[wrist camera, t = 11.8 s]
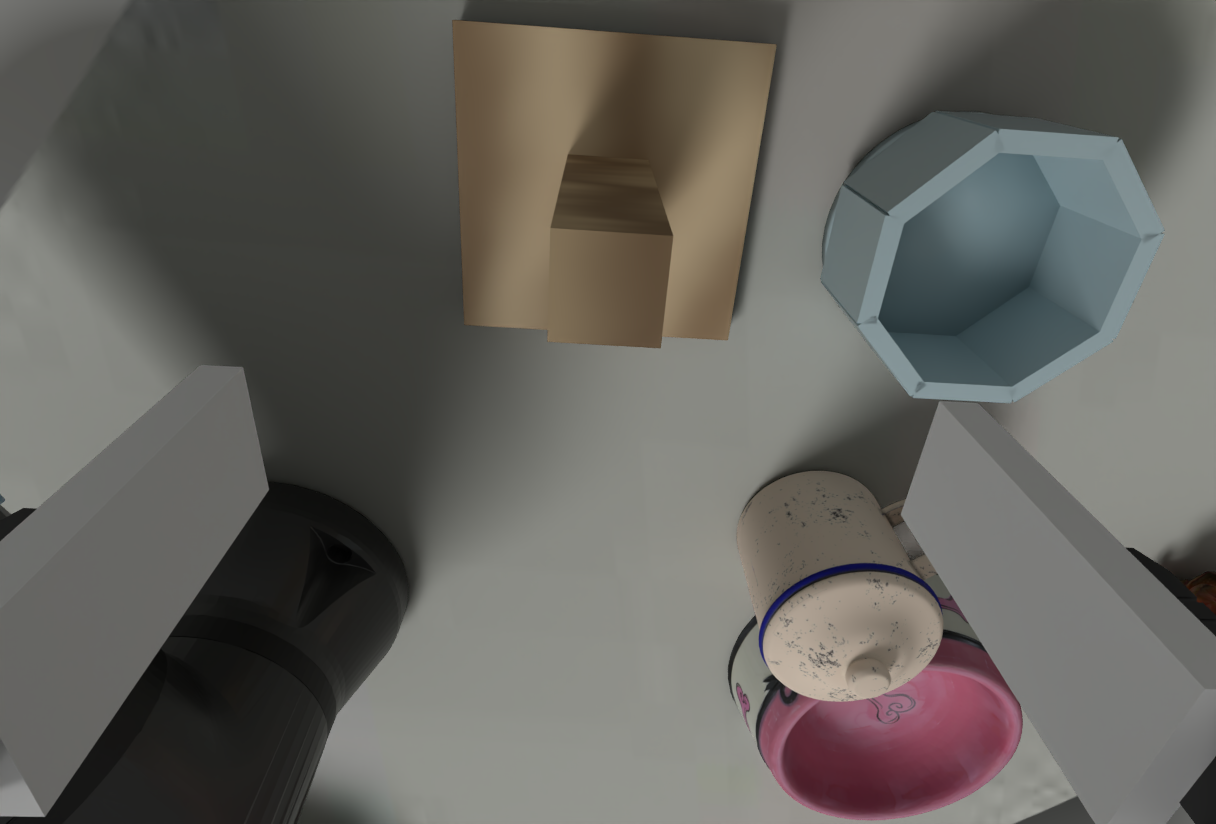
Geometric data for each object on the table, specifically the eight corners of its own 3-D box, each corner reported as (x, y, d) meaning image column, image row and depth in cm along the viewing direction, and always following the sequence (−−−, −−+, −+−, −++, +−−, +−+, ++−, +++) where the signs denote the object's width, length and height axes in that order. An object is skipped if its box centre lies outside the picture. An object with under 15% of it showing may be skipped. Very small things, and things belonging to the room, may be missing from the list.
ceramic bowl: (801, 334, 36) (838, 393, 30) (852, 102, 30) (909, 122, 25) (1008, 346, 36) (1083, 407, 31) (1095, 120, 31) (1206, 143, 25)
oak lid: (467, 318, 35) (403, 462, 23) (455, 20, 28) (361, 22, 17) (725, 333, 35) (783, 481, 24) (772, 43, 29) (881, 61, 18)
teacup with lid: (782, 603, 45) (834, 771, 35) (702, 517, 42) (734, 678, 32) (952, 510, 42) (1066, 669, 32) (881, 407, 38) (982, 549, 28)
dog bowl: (891, 513, 42) (938, 595, 36) (1048, 656, 48) (1111, 745, 42) (673, 667, 49) (683, 758, 43) (837, 775, 55) (866, 867, 49)
